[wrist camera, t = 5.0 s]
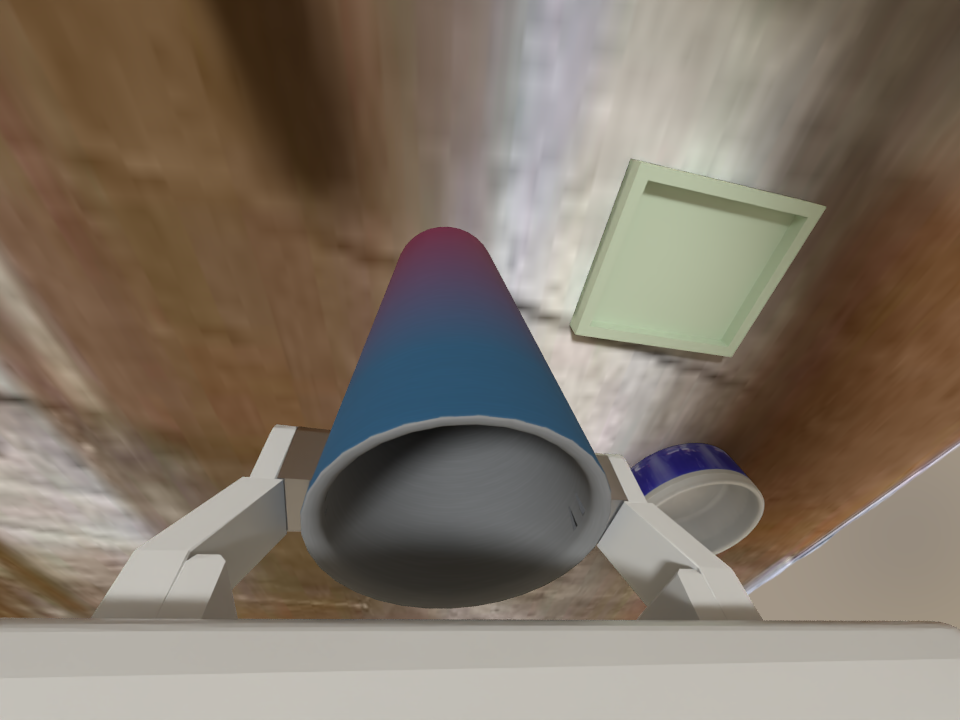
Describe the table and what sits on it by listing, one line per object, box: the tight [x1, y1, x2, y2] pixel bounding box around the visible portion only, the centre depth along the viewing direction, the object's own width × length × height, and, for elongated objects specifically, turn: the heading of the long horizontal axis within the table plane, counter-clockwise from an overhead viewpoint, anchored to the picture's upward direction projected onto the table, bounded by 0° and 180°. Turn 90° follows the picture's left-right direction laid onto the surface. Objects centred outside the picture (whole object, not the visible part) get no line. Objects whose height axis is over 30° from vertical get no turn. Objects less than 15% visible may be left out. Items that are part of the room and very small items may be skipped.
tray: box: [570, 159, 826, 357], centre depth 35 cm, size 14×16×2 cm
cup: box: [300, 227, 611, 608], centre depth 15 cm, size 7×7×15 cm
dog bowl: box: [630, 443, 764, 555], centre depth 50 cm, size 15×15×6 cm
